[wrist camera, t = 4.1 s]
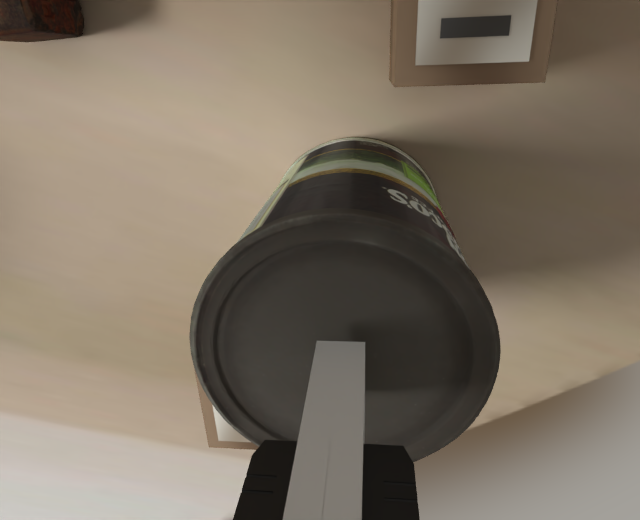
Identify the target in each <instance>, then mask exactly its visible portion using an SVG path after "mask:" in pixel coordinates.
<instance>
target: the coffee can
mask: <svg viewBox="0 0 640 520" xmlns="http://www.w3.org/2000/svg"><path fill="white" fill-rule="evenodd" d="M317 341H347V342H365V431H364V444H381V445H400V446H404V448H405V449H406V451H407V453H408V454H409V456H410V458H411V460H412V461H413V462H415V461H417V460H420V459H422V458H424V457H426V456H428V455H430V454H432V453H434V452H436V451H438V450H440V449H441V448H443V447H445V446H446V445H448V444H449V443H450V442H452V441H453V440H455V439H456V438H457V437H458V436H460V435H461V434H462V433H463V432H464V431H465V430H466V429H467V428H468V427H469V426H470V425H471V424H472V423H473V422H474V420H475V419H476V417H477V416H478V415H479V413H480V411H481V410H482V408H483V407H484V405H485V404H486V402H487V400H488V398H489V396H490V394H491V391H492V389H493V386H494V383H495V380H496V377H497V372H498V369H499V361H500V338H499V331H498V325H497V322H496V319H495V316H494V313H493V309H492V306H491V304H490V302H489V300H488V298H487V296H486V294H485V292H484V290H483V289H482V287H481V285H480V283H479V282H478V280H477V278H476V277H475V276H474V274H473V273H472V272H471V270H470V269H469V267H468V265H467V263H466V261H465V259H464V257H463V255H462V252H461V250H460V248H459V246H458V244H457V241H456V239H455V237H454V234H453V232H452V230H451V228H450V226H449V224H448V222H447V220H446V218H445V216H444V213H443V211H442V209H441V207H440V205H439V203H438V200H437V197H436V193H435V190H434V188H433V185H432V183H431V181H430V179H429V178H428V176H427V174H426V173H425V172H424V170H423V169H422V168H421V167H420V166H419V165H418V163H417V162H416V161H414V160H413V159H412V158H411V157H410V156H408V155H407V154H406V153H404V152H403V151H401V150H399V149H398V148H396V147H394V146H392V145H390V144H387V143H385V142H381V141H379V140H375V139H370V138H358V137H350V138H342V139H337V140H333V141H329V142H326V143H324V144H321V145H319V146H317V147H315V148H313V149H311V150H309V151H308V152H306V153H305V154H303V155H302V156H301V157H300V158H299V159H298V160H297V161H296V162H295V163H294V164H293V165H292V166H291V167H290V168H289V169H288V171H287V172H286V174H285V175H284V177H283V178H282V180H281V182H280V184H279V186H278V187H277V188H276V190H275V191H274V192H273V194H272V195H271V196H270V198H269V199H268V200H267V201H266V203H265V204H264V206H263V207H262V209H261V210H260V211H259V213H258V214H257V215H256V217H255V218H254V220H253V221H252V222H251V224H250V225H249V227H248V228H247V229H246V231H245V232H244V234H243V235H242V236H241V238H240V239H239V240H238V242H237V243H236V244H235V245H234V246H233V247H232V248H231V249H230V250H229V251H228V252H227V253H226V254H225V255H224V256H223V257H222V258H221V259H220V260H219V261H218V262H217V264H216V265H215V267H214V268H213V269H212V271H211V272H210V273H209V275H208V276H207V278H206V279H205V281H204V283H203V285H202V287H201V289H200V292H199V294H198V296H197V299H196V301H195V304H194V308H193V312H192V316H191V325H190V347H191V355H192V360H193V365H194V368H195V371H196V374H197V377H198V379H199V382H200V384H201V386H202V388H203V390H204V392H205V393H206V395H207V397H208V399H209V400H210V401H211V403H212V405H213V406H214V407H215V409H216V410H217V411H218V413H219V414H220V415H221V416H222V418H223V419H224V420H225V421H226V422H227V423H228V424H229V425H231V426H232V427H233V428H234V429H235V430H236V431H237V432H238V433H240V434H241V435H242V436H243V437H245V438H246V439H247V440H249V441H250V442H252V443H253V444H255V445H256V446H258V447H259V446H260V445H261V444H262V443H263V441H264V440H282V441H298V437H299V431H300V426H301V421H302V416H303V410H304V405H305V400H306V395H307V390H308V384H309V379H310V374H311V369H312V363H313V358H314V353H315V348H316V342H317Z"/></svg>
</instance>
